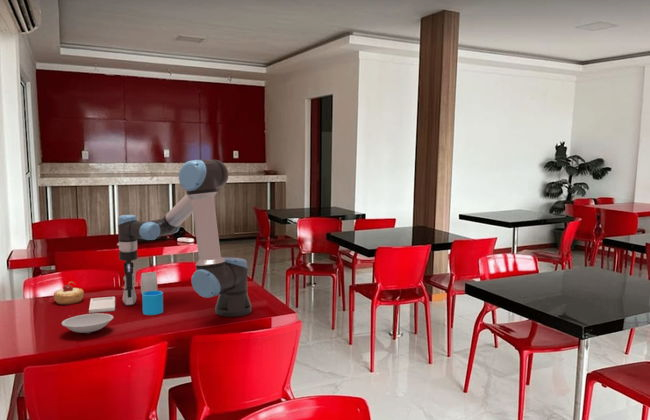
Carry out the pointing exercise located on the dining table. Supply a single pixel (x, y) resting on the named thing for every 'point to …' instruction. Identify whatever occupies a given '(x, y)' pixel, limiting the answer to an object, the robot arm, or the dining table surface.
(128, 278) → the robot arm
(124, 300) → the salt shaker
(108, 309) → the tray
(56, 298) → the pastry
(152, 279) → the tea bag
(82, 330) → the dish
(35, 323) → the dining table surface
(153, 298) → the mug
